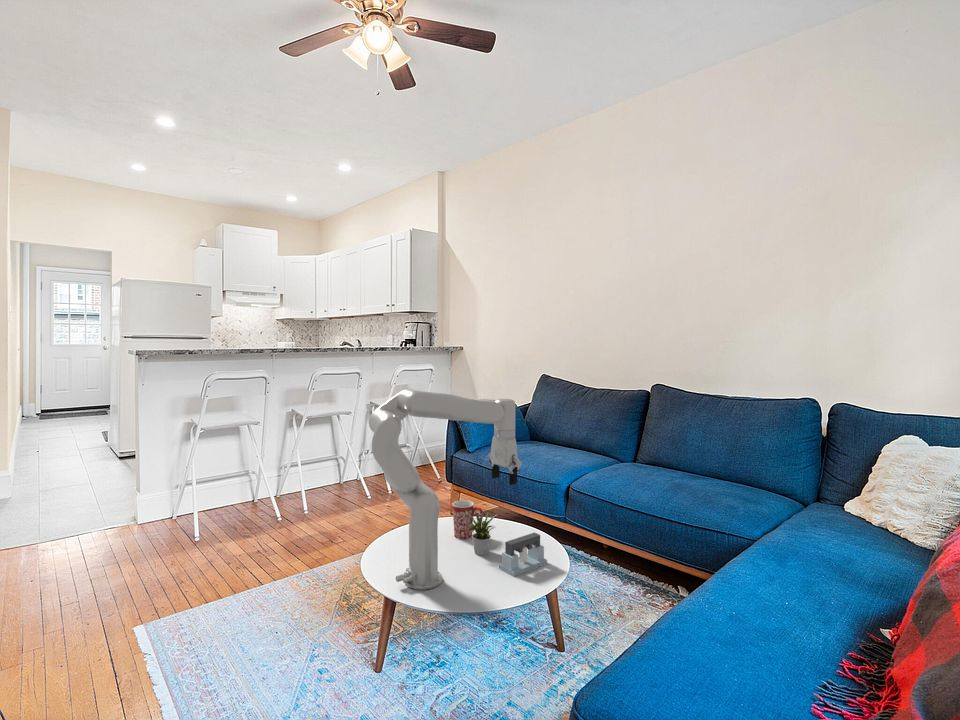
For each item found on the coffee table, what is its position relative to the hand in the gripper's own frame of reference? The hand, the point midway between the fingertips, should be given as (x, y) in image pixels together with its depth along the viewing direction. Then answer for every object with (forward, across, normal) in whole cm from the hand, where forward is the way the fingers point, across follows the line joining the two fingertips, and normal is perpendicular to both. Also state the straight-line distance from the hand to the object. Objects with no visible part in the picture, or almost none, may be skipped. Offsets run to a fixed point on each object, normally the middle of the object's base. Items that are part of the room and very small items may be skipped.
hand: (504, 480), depth 179 cm
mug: (+30, -28, +4) cm, 42 cm away
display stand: (+30, +6, +4) cm, 31 cm away
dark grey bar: (+24, +6, +4) cm, 25 cm away
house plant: (+30, -13, -2) cm, 33 cm away
